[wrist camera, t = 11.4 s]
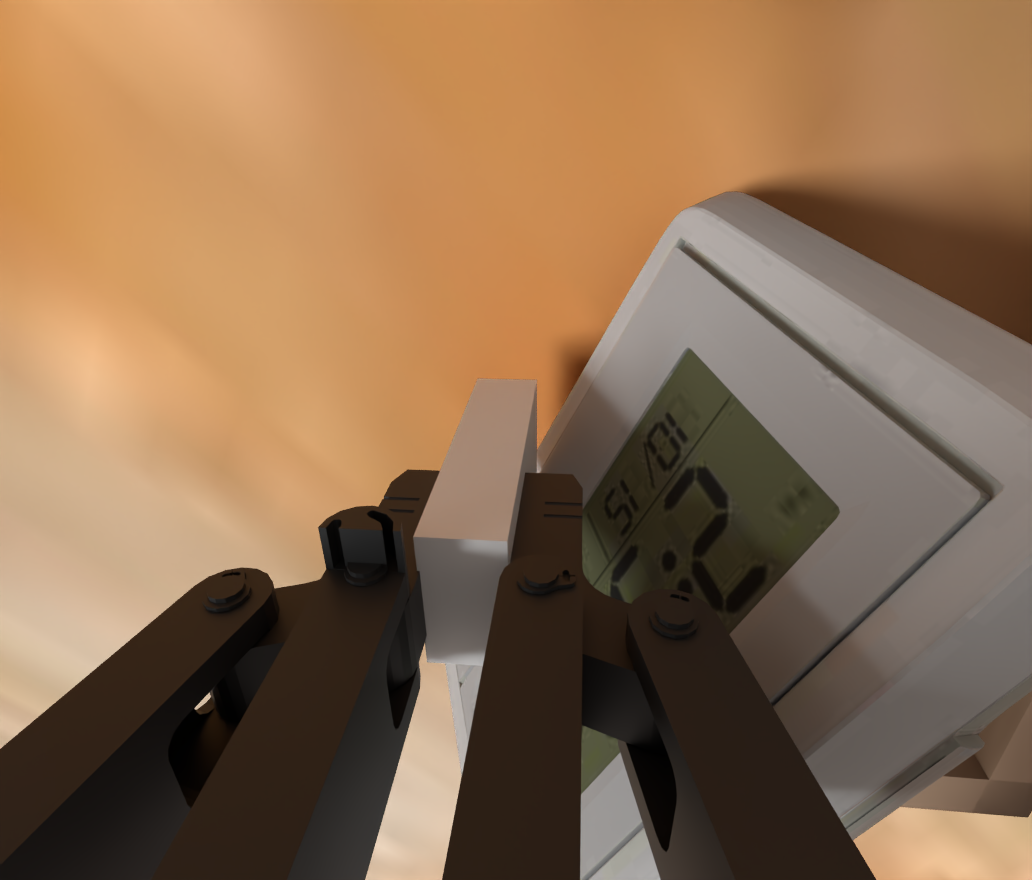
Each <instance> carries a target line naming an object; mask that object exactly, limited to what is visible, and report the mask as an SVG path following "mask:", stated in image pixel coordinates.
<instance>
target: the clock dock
mask: <svg viewBox="0 0 1032 880" xmlns="http://www.w3.org/2000/svg"><path fill="white" fill-rule="evenodd" d="M978 736H979V737H980V738H981V739H982V740H983V741H984V742H985V744H984V746H983V748H982V749H980V750H979V751H978V752H976V753H975V754H973V755H972V756H971V757H969V758H968V759H966V760H965V761H963V762H962V763H961V764H959V765H958V766H956V767H955V768H954V769H952V770H951V771H949V772H948V773H947V774H945V775H944V776H942V777H941V778H940V779H938V780H937V781H935V782H934V783H933V784H931V785H930V786H928V787H927V788H926V789H924V790H923V791H921V792H920V793H918V794H917V795H916V796H914V797H913V798H911V799H910V800H909V801H907V802H906V803H904V804H903V805H902V806H900V807H909V808H921V809H933V810H945V811H957V812H969V813H981V814H993V815H1005V816H1017V817H1028V816H1029V815H1030V813H1031V811H1032V691H1031V692H1030V693H1028V694H1027V695H1025V696H1024V697H1023V698H1021V699H1020V700H1019V701H1017V702H1016V703H1015V704H1013V705H1012V706H1011V707H1009V708H1008V709H1007V710H1005V711H1004V712H1003V713H1002V714H1000V715H999V716H998V717H997V718H996V719H994V720H993V721H992V722H991V723H989V724H988V725H987V726H986V727H985V728H984V729H983V730H982V731H981V732H980V733H979V734H978Z"/></svg>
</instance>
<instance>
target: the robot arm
mask: <svg viewBox="0 0 1032 880" xmlns="http://www.w3.org/2000/svg"><path fill="white" fill-rule="evenodd" d="M582 517H583V488H582V486H581V485H580V483H579V482H578V481H577V479H576V478H575V477H574V475H573V474H552V473H537V380H519V379H479V378H478V379H477V381H476V384H475V386H474V389H473V391H472V394H471V396H470V399H469V401H468V403H467V406H466V408H465V411H464V413H463V416H462V418H461V421H460V423H459V426H458V428H457V430H456V433H455V435H454V438H453V440H452V443H451V445H450V448H449V450H448V453H447V455H446V457H445V460H444V462H443V465H442V467H441V470H440V471H431V470H407V471H405V472H404V473H403V474H401V475H400V476H399V477H397V478H396V479H395V480H393V481H392V482H391V484H390V486H389V488H388V490H387V492H386V494H385V495H384V499H382V501H381V503H380V505H379V507H376V506H361V507H354V508H350V509H346V510H343V511H340V512H338V513H336V514H334V515H332V516H331V517H329V518H327V519H326V520H325V521H324V522H323V523H322V524H321V525H320V526H319V527H318V529H319V534H320V539H321V544H322V549H323V554H324V559H325V564H326V571H325V572H324V574H323V576H322V578H321V579H320V580H317V581H313V582H309V583H305V584H299V585H293V586H287V587H281V588H276V589H274V585H273V582H272V580H271V579H270V577H269V575H268V574H267V573H265V572H262V571H260V570H258V569H253V568H237V569H231V570H225V571H223V572H220V573H217V574H215V575H212V576H209V577H208V578H206V579H205V580H203V581H202V582H200V583H198V584H197V585H195V586H194V587H193V588H192V589H190V590H189V591H188V592H187V593H186V594H184V595H183V596H182V597H181V598H180V599H178V600H177V601H176V602H175V603H174V604H173V605H171V606H170V607H169V608H168V609H167V610H165V611H164V612H163V613H162V614H161V615H159V616H158V617H157V618H156V619H155V620H153V621H152V622H151V623H150V624H149V625H147V626H146V627H145V628H144V629H143V630H142V631H140V632H139V633H138V634H137V635H136V636H134V637H133V638H132V639H131V640H130V641H128V642H127V643H126V644H125V645H124V646H122V647H121V648H120V649H119V650H118V651H116V652H115V653H114V654H113V655H112V656H111V657H109V658H108V659H107V660H106V661H105V662H103V663H102V664H101V665H100V666H99V667H97V668H96V669H95V670H94V671H93V672H91V673H90V674H89V675H88V676H87V677H85V678H84V679H83V680H82V681H81V682H80V683H78V684H77V685H76V686H75V687H74V688H72V689H71V690H70V691H69V692H68V693H66V694H65V695H64V696H63V697H62V698H60V699H59V700H58V701H57V702H56V703H54V704H53V705H52V706H51V707H50V708H49V709H47V710H46V711H45V712H44V713H43V714H41V715H40V716H39V717H38V718H37V719H35V720H34V721H33V722H32V723H31V724H29V725H28V726H27V727H26V728H25V729H23V730H22V731H21V732H20V733H19V734H18V735H16V736H15V737H14V738H13V739H12V740H10V741H9V742H8V743H7V744H6V745H4V746H3V747H2V748H1V749H0V880H365V878H366V874H367V871H368V867H369V864H370V860H371V857H372V853H373V850H374V846H375V843H376V839H377V836H378V832H379V829H380V826H381V822H382V819H383V815H384V812H385V808H386V805H387V801H388V798H389V794H390V791H391V787H392V784H393V780H394V777H395V773H396V770H397V766H398V763H399V759H400V756H401V752H402V749H403V745H404V742H405V738H406V735H407V731H408V728H409V724H410V721H411V717H412V714H413V710H414V707H415V703H416V700H417V696H418V693H419V689H420V669H419V660H420V656H421V653H422V650H423V646H424V643H425V647H426V655H427V662H433V663H447V664H462V665H476V666H483V667H482V672H481V678H480V683H479V688H478V694H477V699H476V704H475V709H474V715H473V720H472V725H471V731H470V736H469V741H468V746H467V752H466V757H465V762H464V767H463V773H462V778H461V783H460V789H459V794H458V799H457V804H456V810H455V815H454V820H453V826H452V831H451V836H450V841H449V847H448V852H447V857H446V862H445V868H444V873H443V878H442V880H580V847H581V745H582V725H583V726H585V727H588V728H590V729H593V730H596V731H598V732H601V733H603V734H606V735H608V736H611V737H613V738H616V739H618V747H619V750H620V753H621V756H622V759H623V763H624V766H625V769H626V772H627V775H628V778H629V782H630V785H631V788H632V791H633V794H634V797H635V800H636V804H637V807H638V810H639V813H640V816H641V819H642V823H643V826H644V829H645V832H646V835H647V838H648V841H649V845H650V848H651V851H652V854H653V857H654V860H655V864H656V867H657V870H658V873H659V876H660V879H661V880H876V878H875V877H874V875H873V873H872V872H871V870H870V868H869V867H868V865H867V863H866V862H865V860H864V858H863V857H862V855H861V853H860V852H859V850H858V848H857V847H856V845H855V843H854V842H853V840H852V838H851V837H850V835H849V833H848V832H847V830H846V828H845V827H844V825H843V823H842V822H841V820H840V818H839V817H838V815H837V813H836V812H835V810H834V808H833V807H832V805H831V803H830V802H829V800H828V798H827V797H826V795H825V793H824V792H823V790H822V788H821V787H820V785H819V783H818V782H817V780H816V778H815V777H814V775H813V773H812V772H811V770H810V768H809V767H808V765H807V763H806V762H805V760H804V758H803V757H802V755H801V753H800V752H799V750H798V748H797V747H796V745H795V743H794V742H793V740H792V738H791V737H790V735H789V733H788V732H787V730H786V728H785V726H784V725H783V723H782V721H781V720H780V718H779V716H778V715H777V713H776V711H775V710H774V708H773V706H772V705H771V703H770V701H769V700H768V698H767V696H766V695H765V693H764V691H763V690H762V688H761V686H760V685H759V683H758V681H757V680H756V678H755V676H754V675H753V673H752V671H751V670H750V668H749V666H748V665H747V663H746V661H745V660H744V658H743V656H742V655H741V653H740V651H739V650H738V648H737V646H736V645H735V643H734V641H733V640H732V638H731V636H730V635H729V633H728V631H727V630H726V628H725V626H724V625H723V623H722V621H721V620H720V618H719V616H718V615H717V613H716V612H715V611H714V610H713V609H712V608H711V607H710V606H709V605H708V603H706V602H705V601H703V600H701V599H699V598H698V597H696V596H694V595H693V594H690V593H686V592H683V591H679V590H676V589H656V590H653V591H649V592H645V593H643V594H641V595H640V596H639V597H637V598H636V599H635V600H633V602H632V604H631V603H627V602H624V601H621V600H617V599H615V598H612V597H610V596H607V595H605V594H603V593H602V592H600V591H599V590H597V589H595V588H594V587H593V586H592V585H591V584H590V583H589V582H588V580H587V578H586V577H585V575H584V573H583V567H582V520H583V519H582ZM209 692H210V695H211V698H210V699H209V700H208V701H207V702H206V703H205V704H204V705H203V706H201V707H200V708H199V709H197V710H195V709H194V708H195V707H196V706H197V705H198V704H199V703H200V702H201V700H202V699H203V698H204V697H205V696H206V695H207V694H208V693H209Z"/></svg>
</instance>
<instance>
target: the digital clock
mask: <svg viewBox="0 0 1032 880" xmlns="http://www.w3.org/2000/svg"><path fill="white" fill-rule="evenodd" d="M537 473H552V474H573V475H574V477H575V478H576V479H577V481H578V482H579V483H580V485H581V486H582V488H583V517H582V519H583V520H582V567H583V573H584V575H585V577H586V578H587V580H588V582H589V583H590V584H591V585H592V586H593V587H594V588H595V589H597V590H599V591H600V592H602V593H603V594H605V595H607V596H610V597H612V598H615V599H617V600H621V601H624V602H627V603H631V604H632V602H633V600H635V599H636V598H637V597H639V596H640V595H641V594H643V593H645V592H649V591H653V590H656V589H676V590H679V591H683V592H686V593H690V594H693V595H694V596H696V597H698V598H699V599H701V600H703V601H705V602H706V603H708V605H709V606H710V607H711V608H712V609H713V610H714V611H715V612H716V613H717V615H718V616H719V618H720V620H721V621H722V623H723V625H724V626H725V628H726V630H727V631H728V633H729V635H730V636H731V638H732V640H733V641H734V643H735V645H736V646H737V648H738V650H739V651H740V653H741V655H742V656H743V658H744V660H745V661H746V663H747V665H748V666H749V668H750V670H751V671H752V673H753V675H754V676H755V678H756V680H757V681H758V683H759V685H760V686H761V688H762V690H763V691H764V693H765V695H766V696H767V698H768V700H769V701H770V703H771V705H772V706H773V708H774V710H775V711H776V713H777V715H778V716H779V718H780V720H781V721H782V723H783V725H784V726H785V728H786V730H787V732H788V733H789V735H790V737H791V738H792V740H793V742H794V743H795V745H796V747H797V748H798V750H799V752H800V753H801V755H802V757H803V758H804V760H805V762H806V763H807V765H808V767H809V768H810V770H811V772H812V773H813V775H814V777H815V778H816V780H817V782H818V783H819V785H820V787H821V788H822V790H823V792H824V793H825V795H826V797H827V798H828V800H829V802H830V803H831V805H832V807H833V808H834V810H835V812H836V813H837V815H838V817H839V818H840V820H841V822H842V823H843V825H844V827H845V828H846V830H847V832H848V833H849V835H850V837H851V838H852V840H854V839H855V838H857V837H858V836H859V835H861V834H862V833H864V832H865V831H866V830H868V829H869V828H871V827H872V826H873V825H875V824H876V823H878V822H879V821H881V820H882V819H883V818H885V817H886V816H888V815H889V814H890V813H892V812H893V811H895V810H896V809H897V808H899V807H900V806H902V805H903V804H904V803H906V802H907V801H909V800H910V799H911V798H913V797H914V796H916V795H917V794H918V793H920V792H921V791H923V790H924V789H926V788H927V787H928V786H930V785H931V784H933V783H934V782H935V781H937V780H938V779H940V778H941V777H942V776H944V775H945V774H947V773H948V772H949V771H951V770H952V769H954V768H955V767H956V766H958V765H959V764H961V763H962V762H963V761H965V760H966V759H968V758H969V757H971V756H972V755H973V754H975V753H976V752H978V751H979V750H980V749H982V748H983V746H984V744H985V742H984V741H983V740H982V739H981V738H980V737H979V736H978V734H979V733H980V732H981V731H982V730H983V729H984V728H985V727H986V726H987V725H988V724H989V723H991V722H992V721H993V720H994V719H996V718H997V717H998V716H999V715H1000V714H1002V713H1003V712H1004V711H1005V710H1007V709H1008V708H1009V707H1011V706H1012V705H1013V704H1015V703H1016V702H1017V701H1019V700H1020V699H1021V698H1023V697H1024V696H1025V695H1027V694H1028V693H1030V692H1031V691H1032V345H1031V344H1030V343H1028V342H1026V341H1024V340H1022V339H1020V338H1018V337H1016V336H1015V335H1013V334H1011V333H1009V332H1007V331H1005V330H1003V329H1001V328H1000V327H998V326H996V325H994V324H992V323H990V322H988V321H986V320H985V319H983V318H981V317H979V316H977V315H975V314H973V313H971V312H970V311H968V310H966V309H964V308H962V307H960V306H958V305H956V304H955V303H953V302H951V301H949V300H947V299H945V298H943V297H941V296H939V295H938V294H936V293H934V292H932V291H930V290H928V289H926V288H924V287H923V286H921V285H919V284H917V283H915V282H913V281H911V280H909V279H908V278H906V277H904V276H902V275H900V274H898V273H896V272H894V271H893V270H891V269H889V268H887V267H885V266H883V265H881V264H879V263H878V262H876V261H874V260H872V259H870V258H868V257H866V256H864V255H863V254H861V253H859V252H857V251H855V250H853V249H851V248H849V247H848V246H846V245H844V244H842V243H840V242H838V241H836V240H834V239H832V238H831V237H829V236H827V235H825V234H823V233H821V232H819V231H817V230H816V229H814V228H812V227H810V226H808V225H806V224H804V223H802V222H801V221H799V220H797V219H795V218H793V217H791V216H789V215H787V214H786V213H784V212H782V211H780V210H778V209H776V208H774V207H772V206H771V205H769V204H767V203H765V202H763V201H761V200H759V199H757V198H755V197H753V196H750V195H748V194H746V193H742V192H725V193H722V194H720V195H717V196H714V197H712V198H709V199H707V200H705V201H702V202H700V203H698V204H696V205H693V206H691V207H689V208H687V209H684V210H683V211H681V212H680V213H679V214H678V215H677V216H676V217H675V218H674V220H673V221H672V222H671V224H670V225H669V226H668V228H667V229H666V231H665V232H664V234H663V236H662V237H661V239H660V240H659V242H658V243H657V245H656V247H655V248H654V250H653V252H652V253H651V255H650V257H649V258H648V260H647V262H646V263H645V265H644V267H643V268H642V270H641V272H640V273H639V275H638V277H637V279H636V280H635V282H634V284H633V285H632V287H631V289H630V290H629V292H628V294H627V296H626V297H625V299H624V301H623V302H622V304H621V306H620V308H619V309H618V311H617V313H616V314H615V316H614V318H613V320H612V321H611V323H610V325H609V327H608V328H607V330H606V332H605V333H604V335H603V337H602V339H601V340H600V342H599V344H598V346H597V347H596V349H595V351H594V353H593V354H592V356H591V358H590V359H589V361H588V363H587V365H586V366H585V368H584V370H583V372H582V373H581V375H580V377H579V379H578V380H577V382H576V384H575V385H574V387H573V389H572V391H571V392H570V394H569V396H568V398H567V399H566V401H565V403H564V404H563V406H562V408H561V410H560V411H559V413H558V415H557V417H556V418H555V420H554V422H553V424H552V425H551V427H550V429H549V430H548V432H547V434H546V436H545V437H544V439H543V441H542V443H541V444H540V446H539V448H538V450H537ZM445 665H446V672H447V679H448V686H449V692H450V699H451V706H452V713H453V720H454V726H455V733H456V740H457V747H458V754H459V760H460V767H461V774H462V773H463V767H464V762H465V757H466V752H467V746H468V741H469V736H470V731H471V725H472V720H473V715H474V709H475V704H476V699H477V694H478V688H479V683H480V678H481V672H482V667H483V666H476V665H462V664H447V663H445ZM580 880H661V879H660V876H659V873H658V870H657V867H656V864H655V860H654V857H653V854H652V851H651V848H650V845H649V841H648V838H647V835H646V832H645V829H644V826H643V823H642V819H641V816H640V813H639V810H638V807H637V804H636V800H635V797H634V794H633V791H632V788H631V785H630V782H629V778H628V775H627V772H626V769H625V766H624V763H623V759H622V756H621V753H620V750H619V747H618V739H616V738H613V737H611V736H608V735H606V734H603V733H601V732H598V731H596V730H593V729H590V728H588V727H585V726H583V725H582V745H581V847H580Z"/></svg>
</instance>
